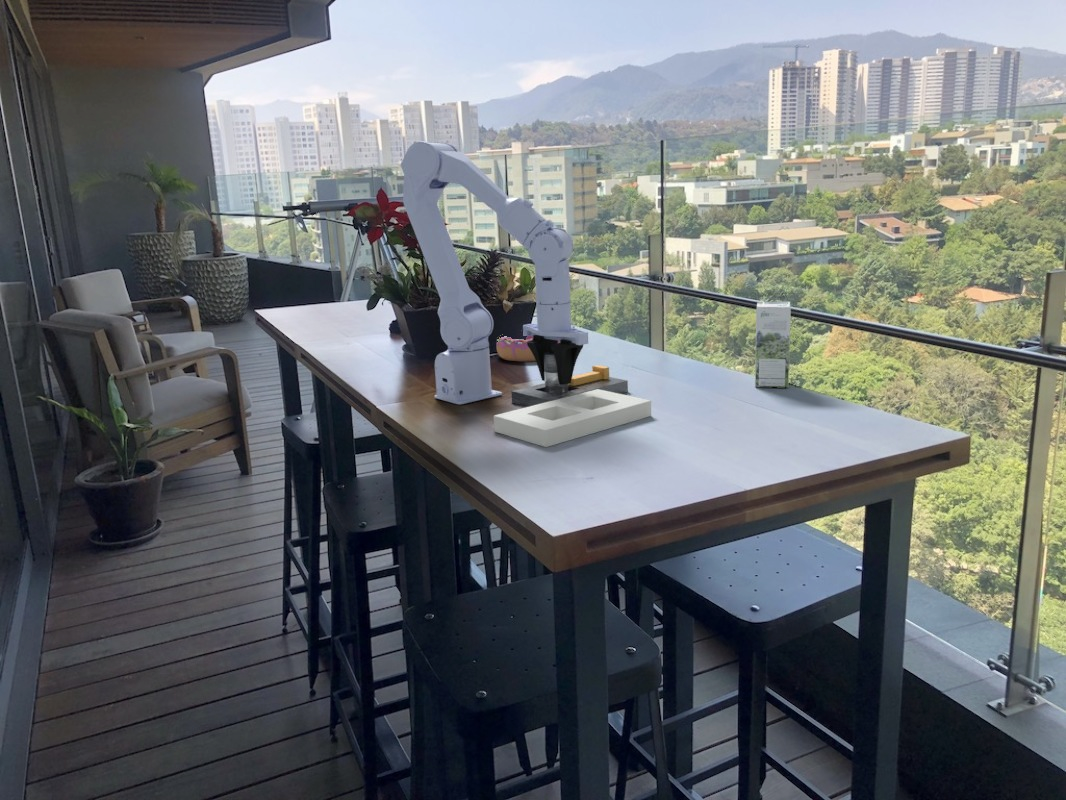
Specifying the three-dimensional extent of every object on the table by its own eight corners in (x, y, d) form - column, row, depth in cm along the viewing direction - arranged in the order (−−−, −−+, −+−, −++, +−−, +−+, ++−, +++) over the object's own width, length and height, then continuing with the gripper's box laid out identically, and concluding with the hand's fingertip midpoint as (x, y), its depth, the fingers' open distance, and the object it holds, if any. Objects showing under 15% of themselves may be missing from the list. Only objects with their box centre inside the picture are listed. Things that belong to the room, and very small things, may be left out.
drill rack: (545, 447, 123) (545, 430, 123) (494, 431, 132) (493, 415, 132) (651, 415, 137) (651, 400, 136) (598, 403, 146) (597, 389, 145)
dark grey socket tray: (550, 412, 142) (549, 400, 141) (511, 402, 149) (511, 391, 149) (627, 391, 153) (627, 380, 153) (588, 383, 161) (588, 372, 160)
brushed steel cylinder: (555, 402, 146) (554, 356, 145) (540, 399, 149) (538, 353, 148) (573, 398, 149) (571, 352, 147) (558, 394, 152) (556, 349, 150)
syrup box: (788, 381, 155) (790, 300, 152) (788, 389, 150) (790, 305, 146) (755, 380, 157) (756, 300, 153) (754, 388, 151) (755, 305, 148)
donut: (521, 348, 198) (520, 326, 197) (575, 353, 190) (574, 330, 189) (483, 360, 187) (482, 337, 185) (538, 366, 179) (537, 342, 177)
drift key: (576, 386, 150) (576, 375, 149) (564, 383, 152) (564, 372, 151) (609, 378, 154) (609, 367, 154) (597, 375, 157) (597, 365, 156)
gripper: (600, 302, 142) (602, 383, 145) (543, 296, 153) (546, 371, 156) (569, 308, 138) (571, 391, 141) (512, 301, 149) (515, 378, 152)
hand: (556, 381), depth 148 cm, fingers closed on brushed steel cylinder, 4 cm apart
